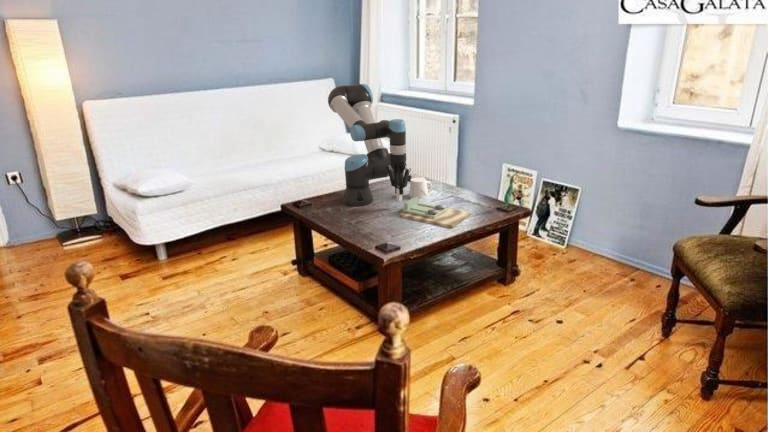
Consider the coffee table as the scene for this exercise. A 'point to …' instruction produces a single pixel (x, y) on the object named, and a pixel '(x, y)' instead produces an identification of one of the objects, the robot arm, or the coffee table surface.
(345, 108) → the robot arm
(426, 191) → the mug
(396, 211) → the coffee table surface
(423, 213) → the panel
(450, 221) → the board
